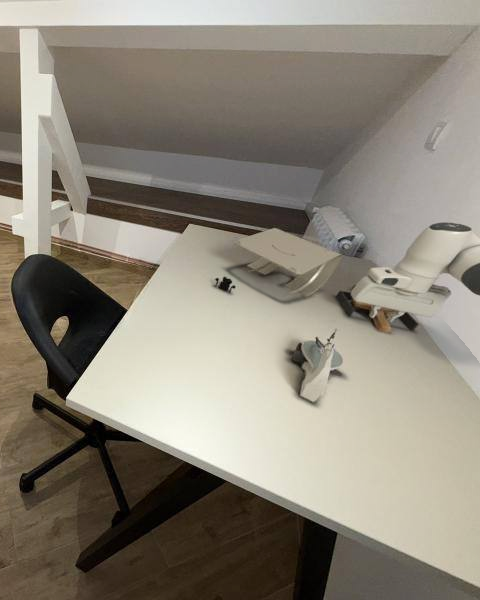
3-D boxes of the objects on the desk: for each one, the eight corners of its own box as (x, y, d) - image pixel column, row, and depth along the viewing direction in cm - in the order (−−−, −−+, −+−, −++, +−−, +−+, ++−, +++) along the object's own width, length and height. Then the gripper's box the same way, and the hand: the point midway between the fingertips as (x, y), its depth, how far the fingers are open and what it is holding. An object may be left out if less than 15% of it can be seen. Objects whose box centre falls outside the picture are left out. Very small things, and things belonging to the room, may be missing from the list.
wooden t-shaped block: (388, 313, 100) (394, 306, 98) (401, 340, 91) (409, 333, 89) (349, 304, 102) (354, 298, 100) (358, 329, 94) (365, 323, 92)
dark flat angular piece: (411, 332, 94) (419, 324, 92) (347, 317, 98) (353, 309, 96) (379, 296, 112) (384, 288, 110) (326, 284, 116) (330, 277, 114)
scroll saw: (365, 383, 59) (298, 354, 64) (335, 418, 65) (276, 388, 70) (366, 334, 72) (310, 313, 78) (341, 367, 78) (291, 345, 84)
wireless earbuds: (211, 287, 107) (216, 274, 104) (215, 284, 109) (220, 272, 106) (231, 296, 103) (236, 283, 100) (234, 293, 105) (240, 280, 102)
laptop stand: (323, 294, 109) (348, 254, 101) (282, 307, 100) (305, 264, 91) (261, 262, 128) (277, 226, 119) (220, 270, 118) (235, 232, 110)
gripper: (448, 283, 87) (414, 322, 95) (364, 267, 92) (338, 305, 100) (462, 294, 82) (426, 334, 90) (373, 276, 87) (345, 315, 95)
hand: (379, 318), depth 95 cm, fingers closed on wooden t-shaped block, 2 cm apart
